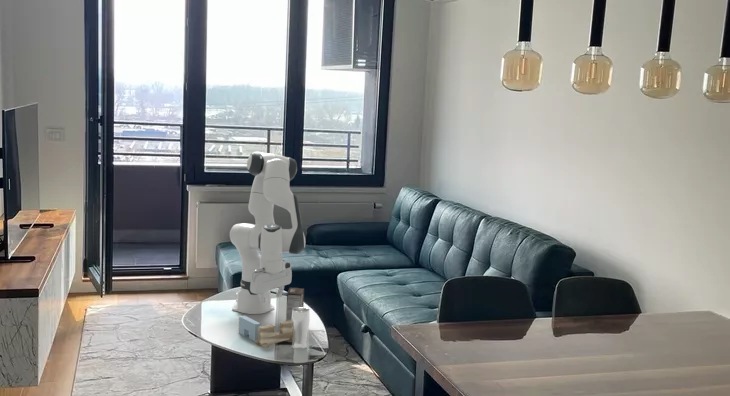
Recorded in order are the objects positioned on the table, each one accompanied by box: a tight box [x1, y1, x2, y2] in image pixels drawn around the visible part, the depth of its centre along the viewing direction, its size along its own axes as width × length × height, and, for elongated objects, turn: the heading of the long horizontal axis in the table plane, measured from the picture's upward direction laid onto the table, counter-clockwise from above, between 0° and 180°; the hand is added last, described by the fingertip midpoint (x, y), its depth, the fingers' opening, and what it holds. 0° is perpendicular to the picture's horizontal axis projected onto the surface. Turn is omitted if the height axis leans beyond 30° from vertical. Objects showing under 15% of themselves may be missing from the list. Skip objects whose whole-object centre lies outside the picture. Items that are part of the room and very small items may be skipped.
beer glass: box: [291, 306, 311, 350], centre depth 267 cm, size 7×7×15 cm
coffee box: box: [285, 287, 305, 321], centre depth 289 cm, size 9×6×16 cm
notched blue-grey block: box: [238, 315, 262, 342], centre depth 276 cm, size 12×2×7 cm, turn 42°
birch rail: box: [254, 320, 293, 349], centre depth 272 cm, size 6×16×7 cm, turn 133°
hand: (270, 299), depth 274 cm, fingers open, 8 cm apart
